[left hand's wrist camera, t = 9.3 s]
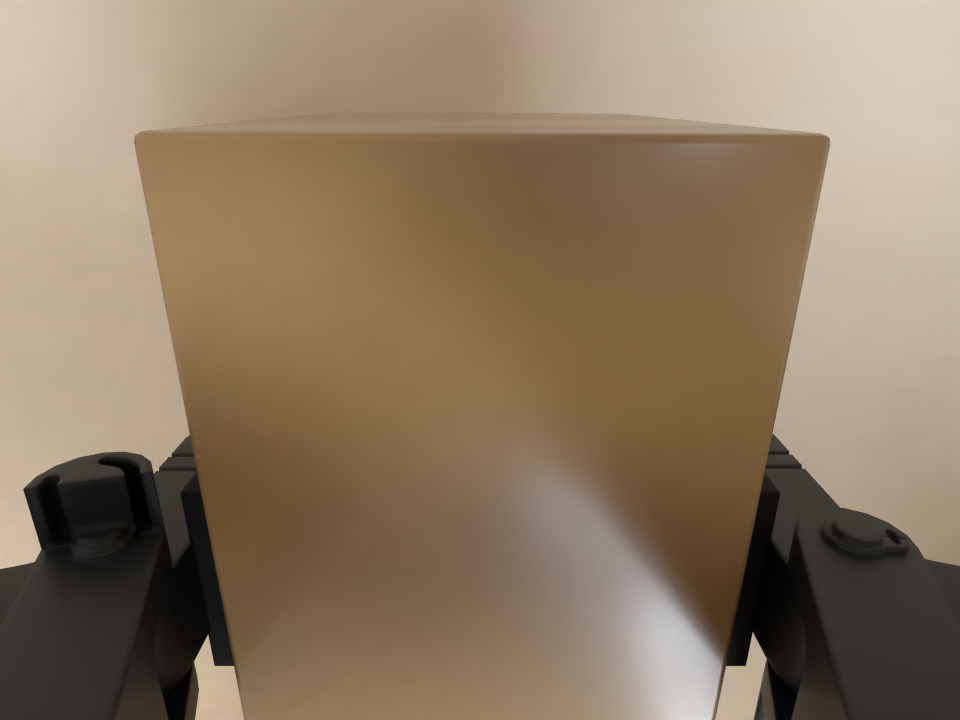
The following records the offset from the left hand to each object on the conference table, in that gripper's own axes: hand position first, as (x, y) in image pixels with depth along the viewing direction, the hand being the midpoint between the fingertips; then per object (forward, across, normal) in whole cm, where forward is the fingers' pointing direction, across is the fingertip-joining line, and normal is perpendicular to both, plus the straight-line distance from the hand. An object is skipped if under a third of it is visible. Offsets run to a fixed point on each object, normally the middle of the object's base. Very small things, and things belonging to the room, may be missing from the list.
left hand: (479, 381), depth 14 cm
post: (+1, 0, -28) cm, 29 cm away
